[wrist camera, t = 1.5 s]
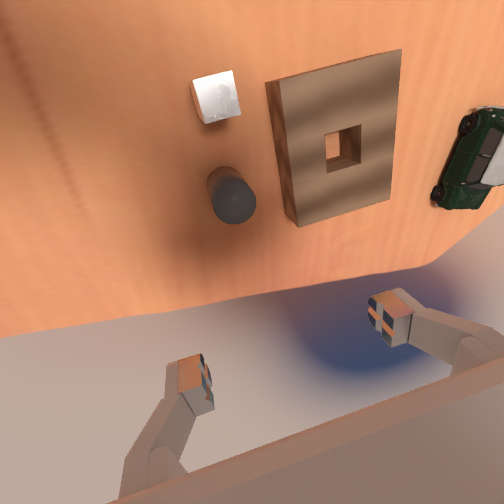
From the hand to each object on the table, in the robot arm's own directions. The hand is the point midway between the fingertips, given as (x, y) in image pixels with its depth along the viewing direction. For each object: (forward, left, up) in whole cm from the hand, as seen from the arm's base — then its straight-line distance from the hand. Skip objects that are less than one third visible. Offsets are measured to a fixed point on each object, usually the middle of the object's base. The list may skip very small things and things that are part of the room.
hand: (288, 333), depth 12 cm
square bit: (-9, +2, -33) cm, 35 cm away
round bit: (+3, +1, -33) cm, 33 cm away
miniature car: (+11, +46, -34) cm, 58 cm away
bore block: (+1, +18, -33) cm, 38 cm away
